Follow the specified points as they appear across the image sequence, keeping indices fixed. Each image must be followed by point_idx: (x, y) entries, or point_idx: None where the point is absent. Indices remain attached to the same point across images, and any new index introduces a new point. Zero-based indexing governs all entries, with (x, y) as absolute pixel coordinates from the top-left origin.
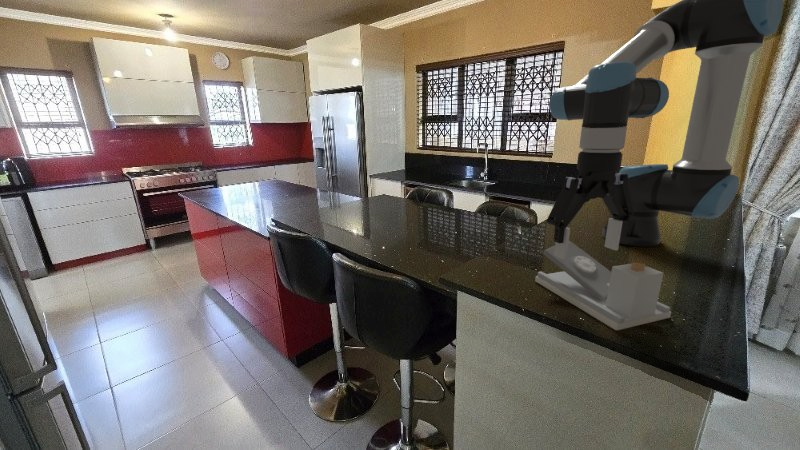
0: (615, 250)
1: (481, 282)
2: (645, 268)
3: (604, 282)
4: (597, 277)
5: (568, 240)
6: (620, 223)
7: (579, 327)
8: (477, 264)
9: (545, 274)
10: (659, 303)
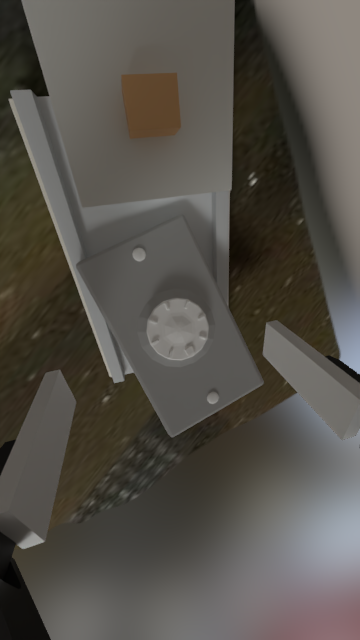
0: (58, 370)
1: None
2: (94, 112)
3: (148, 265)
4: (160, 283)
5: (315, 360)
6: (7, 495)
7: (285, 143)
8: (268, 403)
9: None
10: (34, 131)
